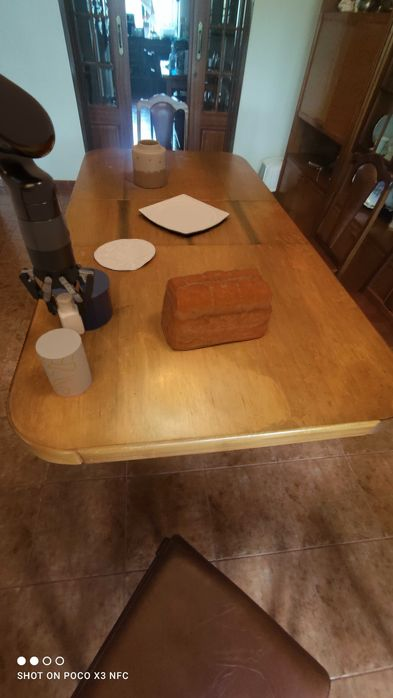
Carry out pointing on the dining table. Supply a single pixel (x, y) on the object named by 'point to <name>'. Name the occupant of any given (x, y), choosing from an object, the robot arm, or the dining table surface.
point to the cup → (64, 361)
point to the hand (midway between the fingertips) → (69, 312)
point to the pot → (97, 312)
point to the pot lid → (98, 288)
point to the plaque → (124, 254)
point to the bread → (215, 308)
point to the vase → (149, 164)
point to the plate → (184, 215)
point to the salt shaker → (69, 313)
